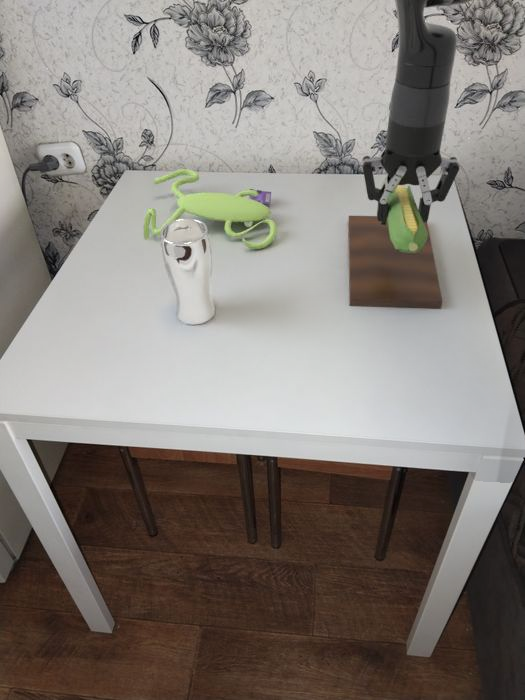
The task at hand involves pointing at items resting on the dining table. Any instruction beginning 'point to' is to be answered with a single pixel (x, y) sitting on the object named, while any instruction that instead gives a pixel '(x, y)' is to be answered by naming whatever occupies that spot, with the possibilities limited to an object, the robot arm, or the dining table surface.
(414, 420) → the dining table surface
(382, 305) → the serving board
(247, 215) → the figurine
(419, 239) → the edible corn
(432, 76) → the robot arm
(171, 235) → the beer glass
